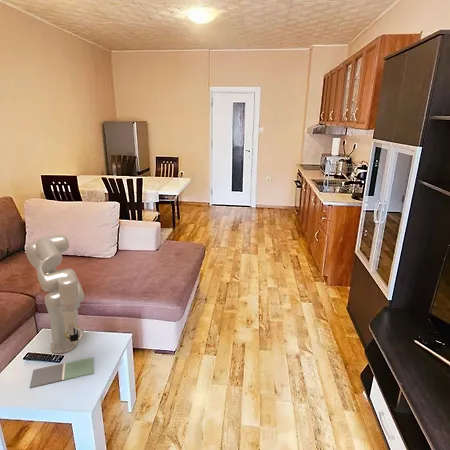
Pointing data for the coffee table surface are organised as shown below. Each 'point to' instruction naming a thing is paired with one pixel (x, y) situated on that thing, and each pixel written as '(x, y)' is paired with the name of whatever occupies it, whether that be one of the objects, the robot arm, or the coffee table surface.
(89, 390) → the coffee table surface
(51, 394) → the coffee table surface
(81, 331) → the ring
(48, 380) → the board
